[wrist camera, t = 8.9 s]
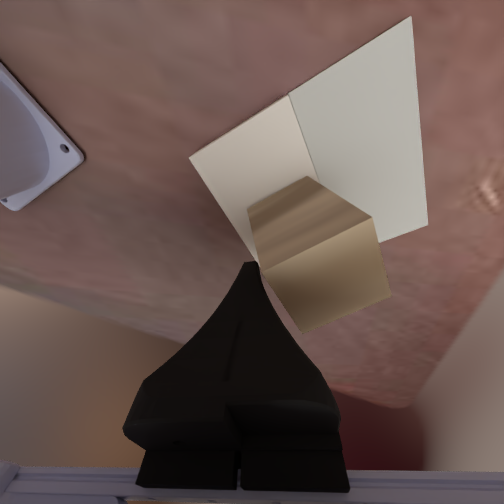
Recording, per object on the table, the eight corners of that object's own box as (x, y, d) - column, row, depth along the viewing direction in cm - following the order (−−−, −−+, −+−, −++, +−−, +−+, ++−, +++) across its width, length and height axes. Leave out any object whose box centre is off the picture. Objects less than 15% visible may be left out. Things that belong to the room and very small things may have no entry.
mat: (287, 93, 12) (288, 93, 11) (406, 18, 10) (411, 15, 10) (343, 252, 18) (345, 254, 17) (424, 222, 16) (428, 224, 16)
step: (197, 151, 14) (188, 157, 12) (284, 95, 12) (288, 94, 10) (275, 277, 20) (277, 293, 18) (341, 253, 18) (349, 268, 16)
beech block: (246, 209, 13) (261, 272, 7) (306, 175, 12) (372, 217, 7) (274, 256, 15) (302, 334, 9) (327, 229, 14) (391, 296, 9)
